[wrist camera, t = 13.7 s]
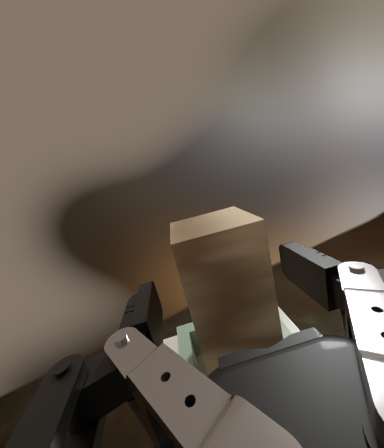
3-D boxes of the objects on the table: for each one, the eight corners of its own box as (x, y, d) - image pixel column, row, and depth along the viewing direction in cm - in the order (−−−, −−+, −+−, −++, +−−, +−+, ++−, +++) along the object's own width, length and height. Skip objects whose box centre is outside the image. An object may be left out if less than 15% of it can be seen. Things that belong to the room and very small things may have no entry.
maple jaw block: (260, 345, 16) (233, 206, 14) (293, 404, 12) (264, 219, 9) (208, 361, 16) (170, 223, 13) (223, 427, 12) (170, 244, 9)
